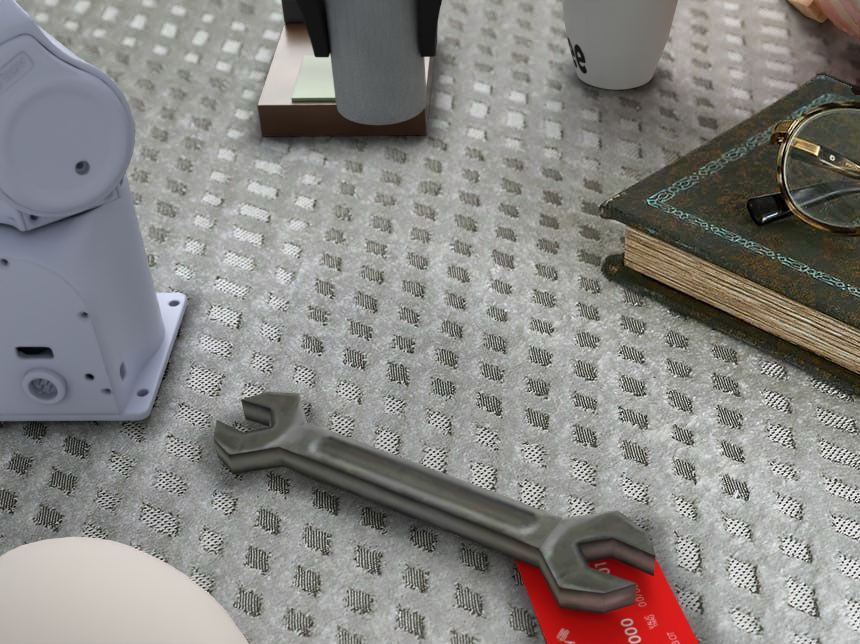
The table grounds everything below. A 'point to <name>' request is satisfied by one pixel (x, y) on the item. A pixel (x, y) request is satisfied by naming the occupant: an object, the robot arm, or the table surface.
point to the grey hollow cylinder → (376, 59)
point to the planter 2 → (833, 13)
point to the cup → (617, 39)
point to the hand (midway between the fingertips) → (377, 48)
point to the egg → (103, 597)
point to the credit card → (617, 630)
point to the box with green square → (316, 91)
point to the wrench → (445, 503)
